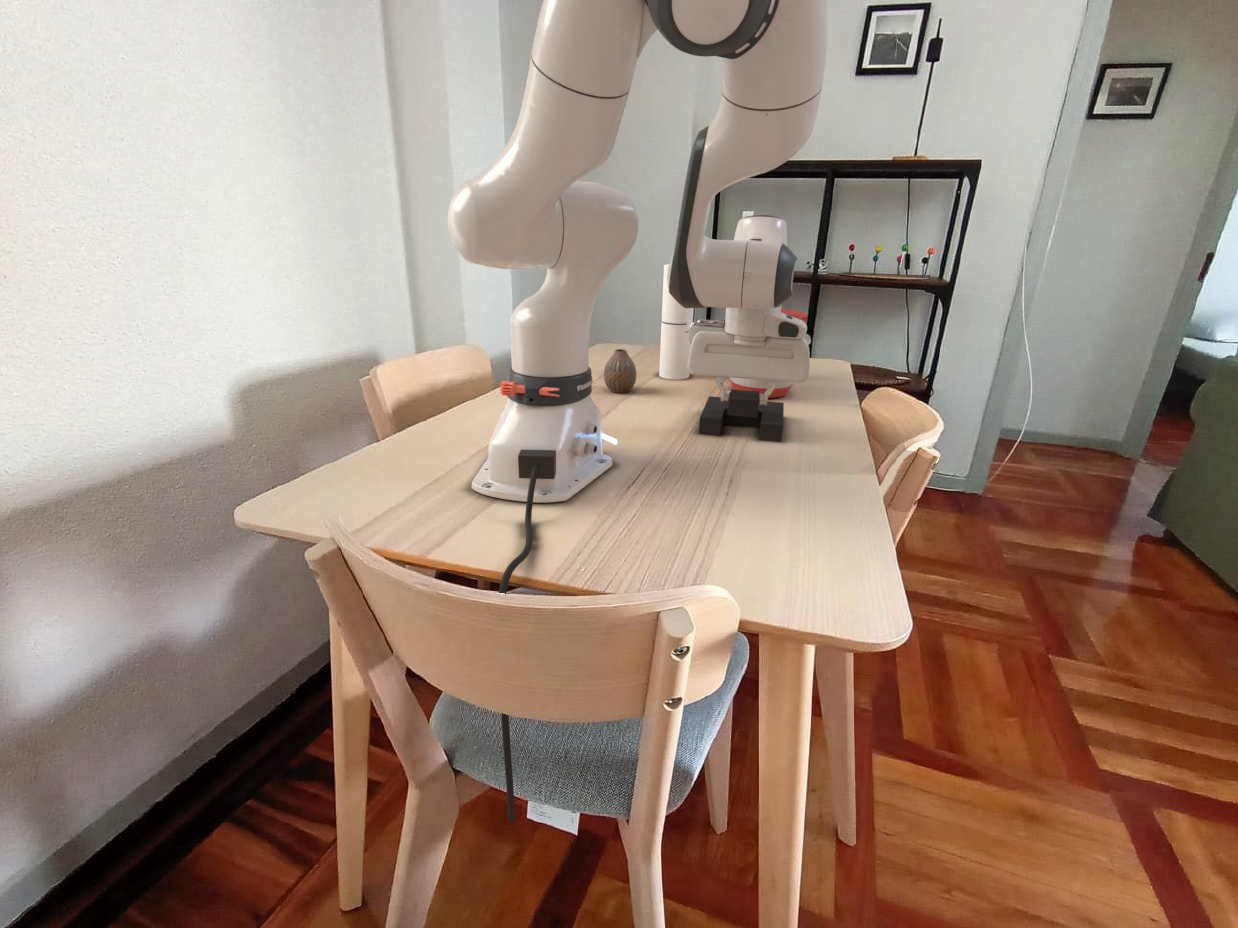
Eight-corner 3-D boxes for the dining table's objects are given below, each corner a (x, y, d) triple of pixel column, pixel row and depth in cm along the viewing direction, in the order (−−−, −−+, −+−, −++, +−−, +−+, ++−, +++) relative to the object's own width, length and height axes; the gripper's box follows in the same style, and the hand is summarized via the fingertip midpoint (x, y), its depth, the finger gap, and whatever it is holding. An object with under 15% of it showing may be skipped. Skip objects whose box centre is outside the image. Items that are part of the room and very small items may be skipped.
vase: (637, 387, 134) (638, 347, 131) (634, 395, 128) (635, 354, 124) (605, 385, 135) (606, 346, 131) (602, 394, 128) (602, 352, 125)
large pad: (781, 442, 103) (783, 425, 102) (698, 433, 106) (699, 417, 105) (781, 417, 115) (783, 402, 114) (707, 411, 119) (709, 396, 117)
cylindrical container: (654, 373, 147) (659, 264, 137) (682, 371, 149) (688, 264, 139) (665, 380, 140) (671, 266, 131) (694, 378, 142) (701, 266, 133)
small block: (756, 417, 103) (758, 400, 102) (726, 415, 104) (728, 398, 103) (758, 407, 108) (760, 391, 107) (729, 405, 109) (731, 389, 108)
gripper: (686, 321, 100) (681, 402, 105) (816, 328, 95) (804, 413, 100) (691, 315, 105) (687, 393, 111) (814, 322, 101) (803, 403, 106)
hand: (743, 403), depth 105 cm, fingers closed on small block, 5 cm apart
